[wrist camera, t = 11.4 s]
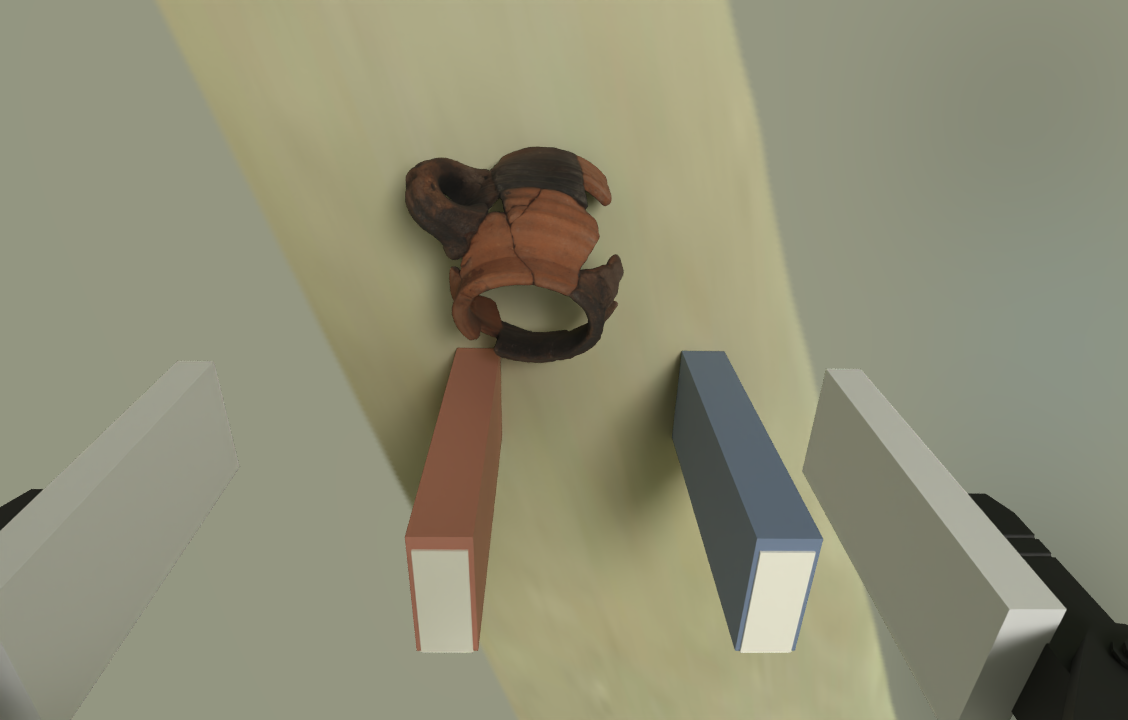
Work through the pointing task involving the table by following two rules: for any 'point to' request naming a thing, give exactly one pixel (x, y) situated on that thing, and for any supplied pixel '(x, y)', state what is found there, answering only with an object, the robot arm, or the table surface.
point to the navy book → (743, 507)
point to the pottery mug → (519, 242)
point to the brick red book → (456, 508)
